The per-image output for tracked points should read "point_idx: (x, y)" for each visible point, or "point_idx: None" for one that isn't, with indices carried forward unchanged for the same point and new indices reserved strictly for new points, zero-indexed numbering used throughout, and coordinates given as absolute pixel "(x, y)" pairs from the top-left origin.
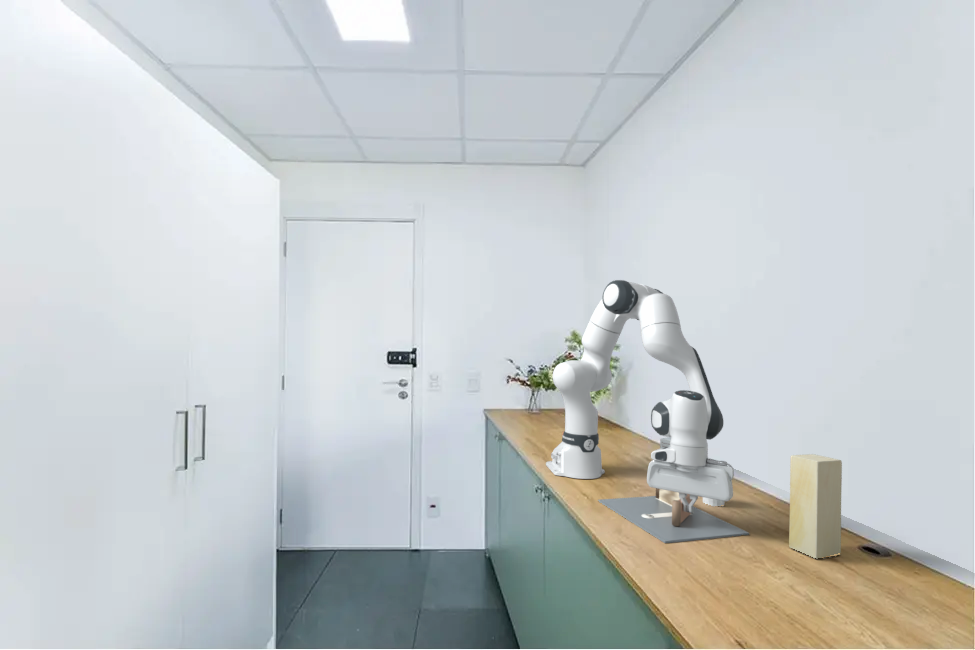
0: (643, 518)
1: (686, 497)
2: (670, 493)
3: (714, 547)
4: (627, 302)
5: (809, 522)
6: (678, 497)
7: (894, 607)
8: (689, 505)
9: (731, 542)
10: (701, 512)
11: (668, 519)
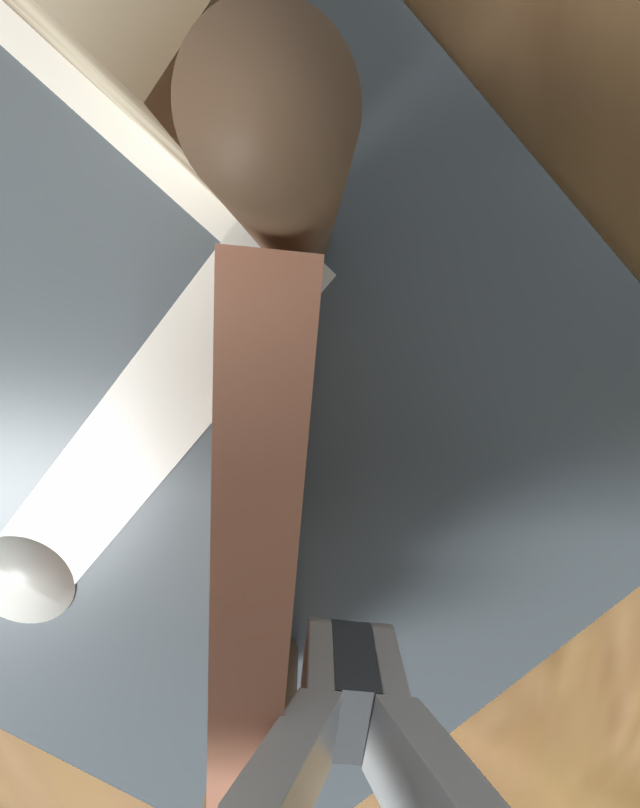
0: (20, 639)
1: (279, 551)
2: None
3: (516, 770)
4: None
5: None
6: (62, 45)
7: None
8: (374, 773)
9: (617, 658)
10: (409, 113)
11: (181, 551)
